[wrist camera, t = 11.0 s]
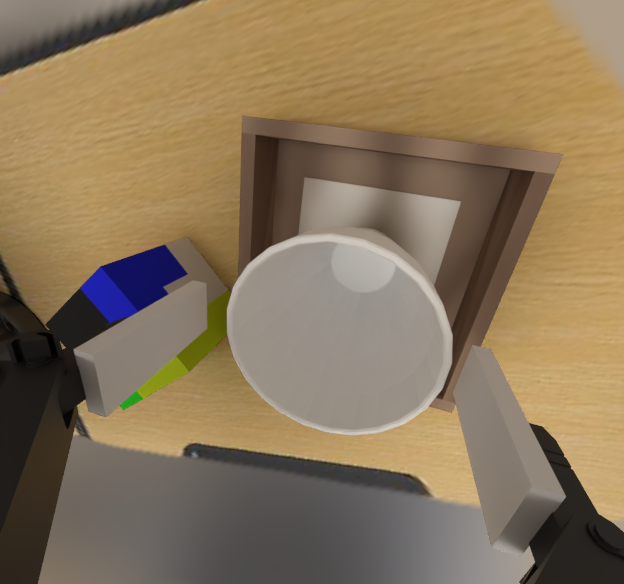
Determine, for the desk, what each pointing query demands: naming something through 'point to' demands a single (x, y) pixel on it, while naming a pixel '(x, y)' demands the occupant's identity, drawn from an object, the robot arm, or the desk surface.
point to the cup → (340, 331)
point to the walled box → (400, 207)
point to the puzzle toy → (146, 304)
